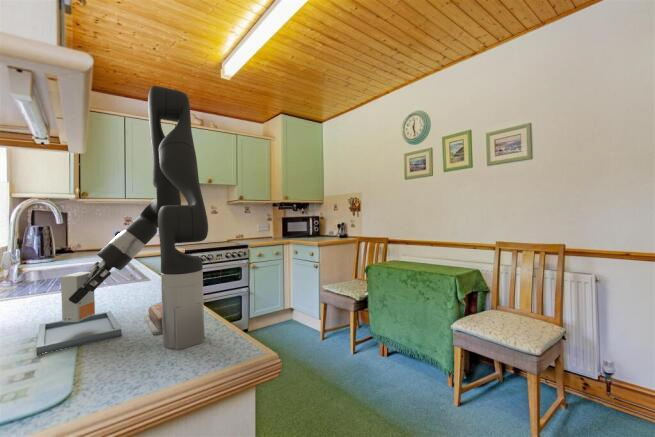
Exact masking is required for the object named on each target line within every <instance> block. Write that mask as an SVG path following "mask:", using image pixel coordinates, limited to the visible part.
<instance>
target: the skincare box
mask: <svg viewBox="0 0 655 437" xmlns="http://www.w3.org/2000/svg"><path fill="white" fill-rule="evenodd" d="M89 274H90V272H87V271H77V272H74V273H69V274H67V275H64V276H61V277H60V288H61V290H60V291H61V318H62V319H61V320H62V322H79V321H81V320H83V319H85V318H88V317H90V316H93V315H95V314H96V304H95V303H96V302H95V301H96V300H95V290H94V291H93V292H92V291H91V292H88V293H87V294H86V295H85V296H84V297H83V298H82V299H81V300H80V301H79V302H78V303H77V304H74V303H72V302H71V301H69V298H70V297H71V296H72V295H73V294H74V293H75V292H76V291H77V290H78V289H79V288H80V287H81V285H82V284H84V282H85V281H86V280H85V278H86V277H87V276H88V275H89ZM90 284H91V285H93V284H92V283H90Z"/></svg>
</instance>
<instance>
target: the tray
mask: <svg viewBox="0 0 655 437" xmlns="http://www.w3.org/2000/svg"><path fill="white" fill-rule="evenodd" d="M121 336H122V328H121V326H120V324H119V323H118V321H117V319H116V317H115V316H114V314H113V313H112V311H111V310H108V311H104V312H100V313H95V315H93V316H90V317H88V318H85V319H83V320H81V321H79V322H62V319H61V320H56V321H50V322H45V323H44V322H43V323H39V327H38V334H37V341H36V356H40V355H39V354H41V355H43V354H42V353H45V352H50V353H52V352H51V351H54V352H57V351H56V350H58V351H61V350H60V349H63V350H66V349H65V348H67V349H71V348H75V347H79V346H85V345H87V344H92V343H97V342H101V341H104V340H105V341H106V340H109V339H114V338H117V337H121ZM70 347H71V348H70Z"/></svg>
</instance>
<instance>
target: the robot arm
mask: <svg viewBox="0 0 655 437" xmlns="http://www.w3.org/2000/svg"><path fill="white" fill-rule="evenodd" d="M190 105H191V104H190V99H189V97H188V94H186V93H185V92H183V91H181V90H177V89H172V88H168V87H163V86H159V85H153V86H151V87H150V89H149V91H148V97H147V110H148V113H147V114H148V123H149V124H148V126H149V133H150V134H149V135H150V142H151V149H152V150H151V151H152V184H153V187H154V188H155V190H156V198H153V199H151V200H152V201H150V202H149V203H148V204H147V205H146V206H145V207H144V208H143V210H142V211H141V212H140V213H139V215H138V217H137V218H136V219H134V220H133V221H132V222H130V224H129V225H127V227H126V228H124V230H122V231H121V232H118V234H117V235H116V236H115V237H113V238H112V239H111V240H110V241H109V242H108V243H107V244H106V245H105V246H104V247H102V248H101V249H100V250H99V251H98V252H97V256H98V257H99V258H100V259H102V260H101V261H97V262H94V264H93V265H92V266H91V267H90V268H89V269H88V270H87V271H86V272H90V274H89V275H88V276H87V277H86V278H85V280H86V281H85V282H84V284H82V285H81V287H80V288H79V289H78V290H77V291H76V292H75V293H74V294H73V295H72V296H71V297H70V298H69V301H71V302H72V303H74V304H77V303H78V302H79V301H80V300H81V299H82V298H83V297H84V296H85V295H86V294H87V293H88V292H91V291H92V292H93V291H94V292H95V290H96V289H97V288H98V287H99V286H100V285H101V284H103V282H104V281H105V280H106V279H108V277H110V276H111V274H112V272H111V270H112V268H115V269H116V270H118V271H122V270H123V269H124V268H125V267H126V266H128V265H129V263H131V261H132V260H133V259H134V258H135V257H136V256H137V255H138V254H140V252H141V251H142V250H143V248H144V247H145V246H146V245H147V244H149V242H150V241H151V240H152V239H153V238H154V237H155V236H156V235H157V233H158V236H159V249H160V282H161V284H160V285H161V288H160V289H161V302H162V322H163V333H162V342H163V346H164V347H165V348H167V349H175V350H176V351H177V350H181V349H185V348H188V347H192V346H195V345H199V344H202V343H205V342H204V341H205V340H204V339H205V337H206V336H205V313H204V312H205V310H204V308H205V306H204V304H205V303H204V278H203V276H204V274H203V260H202V258H201V257H200V256H196V255H191V254H187V253H185V252H182V251H180V250H178V248H176V244H186V243H200V242H203V241H205V240H206V239H207V238H208V234H209V221H208V216H207V210H206V206H205V203H204V198H203V194H202V189H201V184H200V179H199V178H200V177H199V167H198V160H197V153H196V148H195V143H194V137H193V134H192V133H193V132H192V122H191V121H192V119H191V106H190ZM162 120H164V121H168V122H169V121H171V122H176V125H175V127H174V128H173V129H172V130H171V131H169V133H167V134H166V135H165V133H164V130H163V128H162ZM181 194H182V196H183V197H184V199H185V201H186V202H187V204H186V205H184V204H183V205H182V198H181ZM90 283H92V284H93V285H91V284H90Z"/></svg>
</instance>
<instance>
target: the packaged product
mask: <svg viewBox="0 0 655 437" xmlns="http://www.w3.org/2000/svg"><path fill="white" fill-rule="evenodd" d="M143 318H144V321H145V322H146V325H147V327H148V329H149V330H150V332H151V334H152V335H153V336H157V335H162V334H163V322H162V301H161V302H158V303H155V304H153V305H151V306H149V307H148V313H147V315H146V314H143Z"/></svg>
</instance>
